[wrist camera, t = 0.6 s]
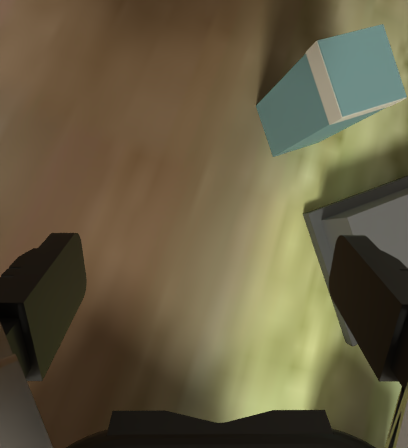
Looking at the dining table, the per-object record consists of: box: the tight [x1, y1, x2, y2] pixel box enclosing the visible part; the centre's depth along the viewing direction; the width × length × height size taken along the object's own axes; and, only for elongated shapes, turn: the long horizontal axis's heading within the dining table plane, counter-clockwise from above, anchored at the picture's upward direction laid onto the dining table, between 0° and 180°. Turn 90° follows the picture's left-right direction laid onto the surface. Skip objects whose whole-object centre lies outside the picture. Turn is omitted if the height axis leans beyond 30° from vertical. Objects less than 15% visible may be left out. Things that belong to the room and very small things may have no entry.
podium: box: [303, 176, 408, 346], centre depth 32 cm, size 13×13×5 cm
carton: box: [256, 24, 407, 157], centre depth 28 cm, size 5×5×11 cm
